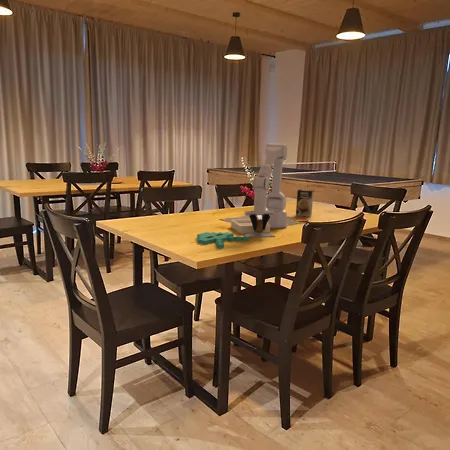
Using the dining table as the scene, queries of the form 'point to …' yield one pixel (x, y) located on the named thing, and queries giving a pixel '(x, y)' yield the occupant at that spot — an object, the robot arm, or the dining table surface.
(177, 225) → the dining table surface
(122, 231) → the dining table surface
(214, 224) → the dining table surface
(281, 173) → the robot arm
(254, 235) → the slate mat
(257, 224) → the walnut cylinder
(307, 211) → the coffee box
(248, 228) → the open box
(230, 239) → the alien figure
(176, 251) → the dining table surface
